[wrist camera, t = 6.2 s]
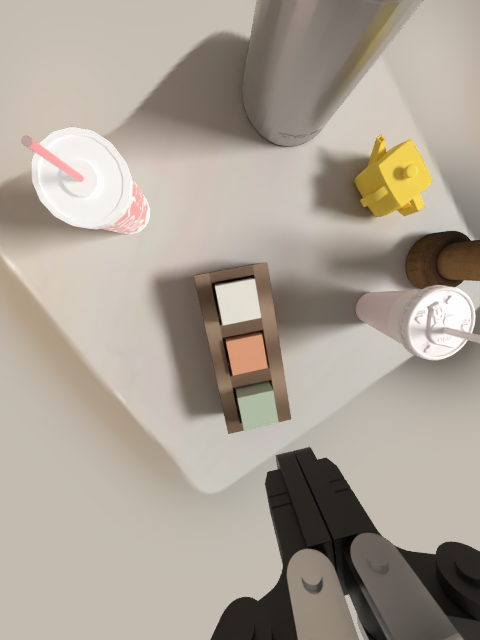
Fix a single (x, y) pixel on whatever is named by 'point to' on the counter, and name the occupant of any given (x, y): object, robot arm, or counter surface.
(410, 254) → the mortar and pestle
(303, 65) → the robot arm
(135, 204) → the beverage cup
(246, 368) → the terracotta key
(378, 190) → the teapot
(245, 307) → the offwhite key
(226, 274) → the key panel
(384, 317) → the smoothie
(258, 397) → the sage key
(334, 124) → the counter surface
